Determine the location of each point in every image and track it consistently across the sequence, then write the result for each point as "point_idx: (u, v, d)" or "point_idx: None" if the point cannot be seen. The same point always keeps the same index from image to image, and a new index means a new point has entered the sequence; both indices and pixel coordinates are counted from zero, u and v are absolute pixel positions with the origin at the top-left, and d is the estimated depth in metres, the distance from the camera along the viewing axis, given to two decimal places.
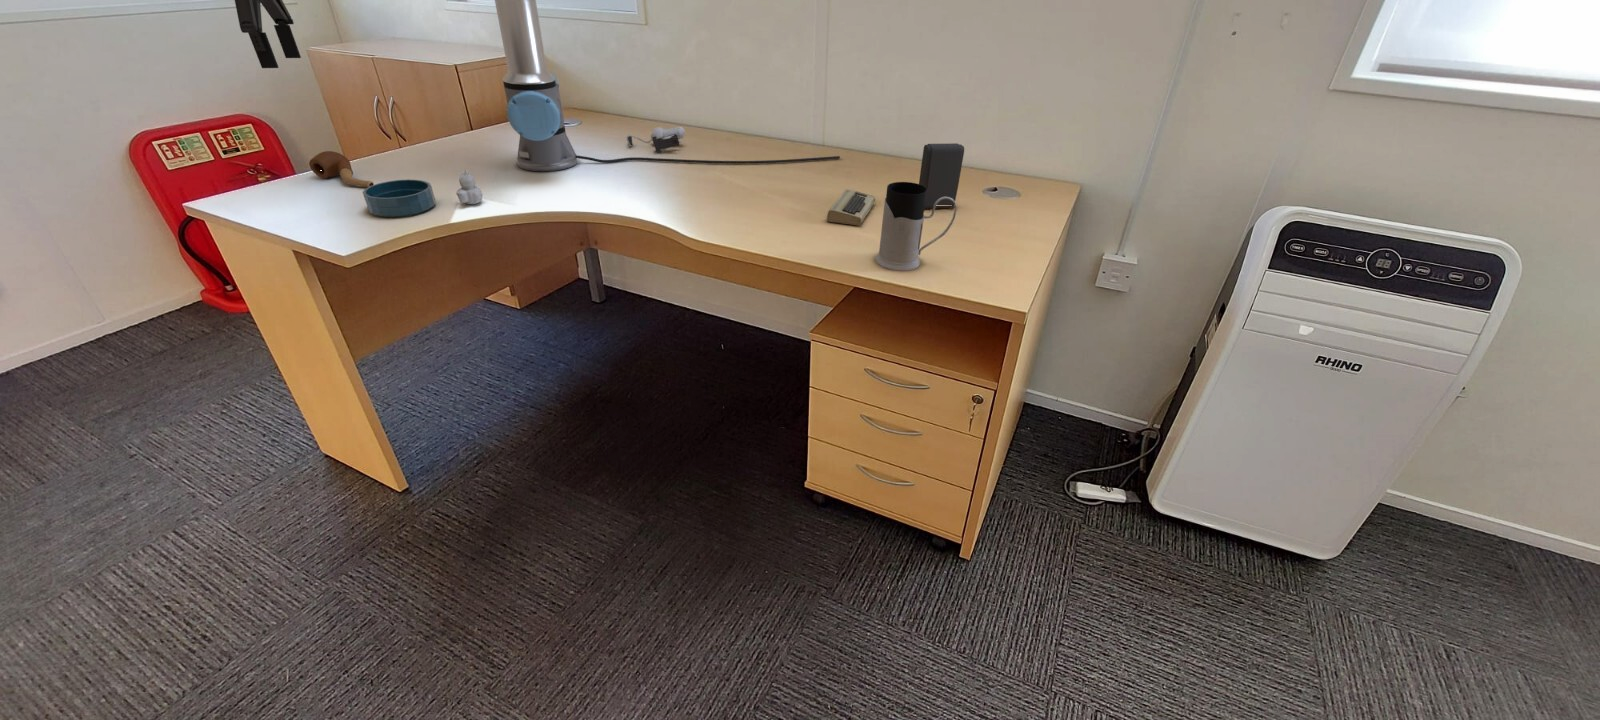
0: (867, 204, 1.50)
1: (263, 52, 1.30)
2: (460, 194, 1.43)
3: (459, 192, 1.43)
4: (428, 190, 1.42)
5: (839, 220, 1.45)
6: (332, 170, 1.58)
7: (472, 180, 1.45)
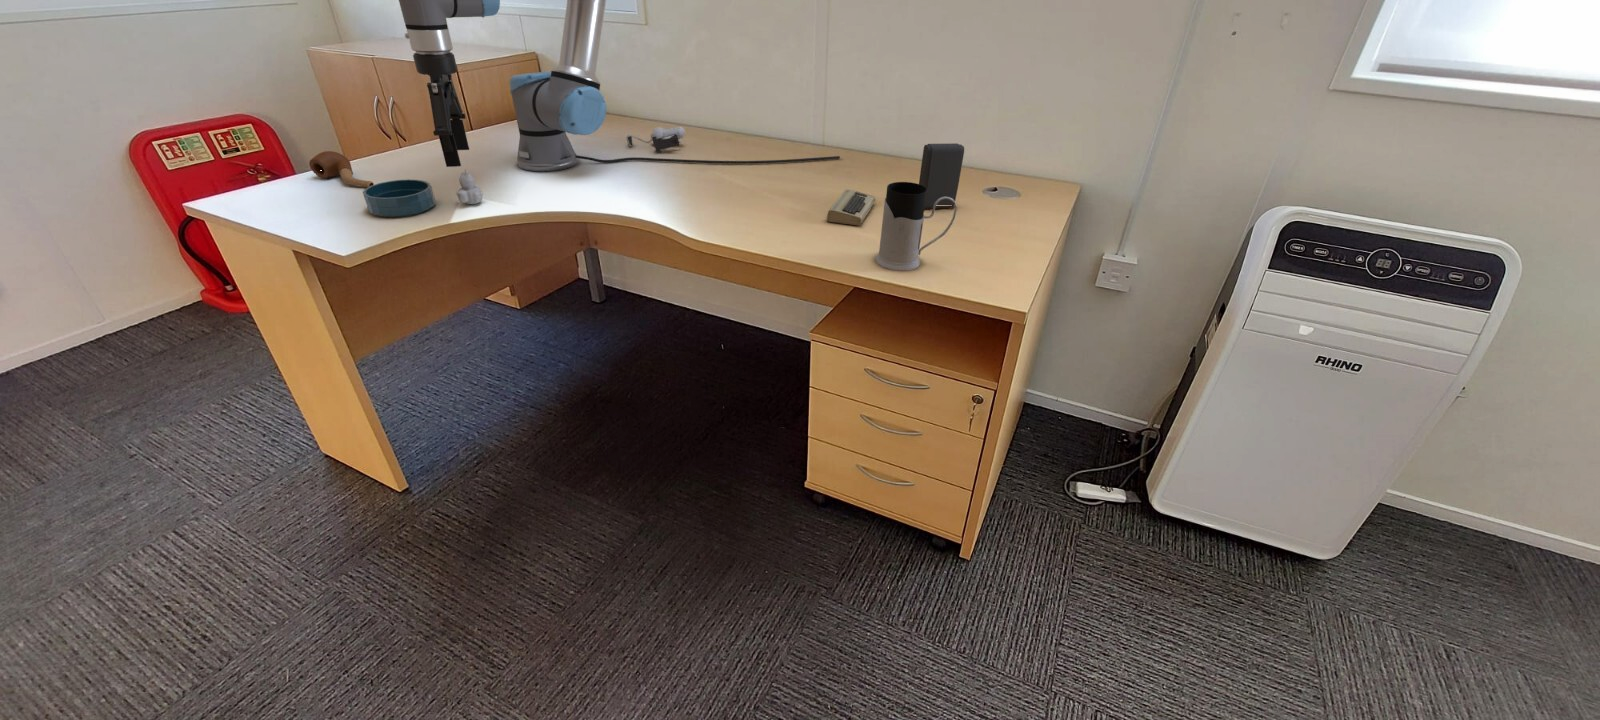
0: (867, 204, 1.50)
1: (449, 152, 1.34)
2: (460, 194, 1.43)
3: (459, 192, 1.43)
4: (428, 190, 1.42)
5: (839, 220, 1.45)
6: (332, 170, 1.58)
7: (472, 180, 1.45)
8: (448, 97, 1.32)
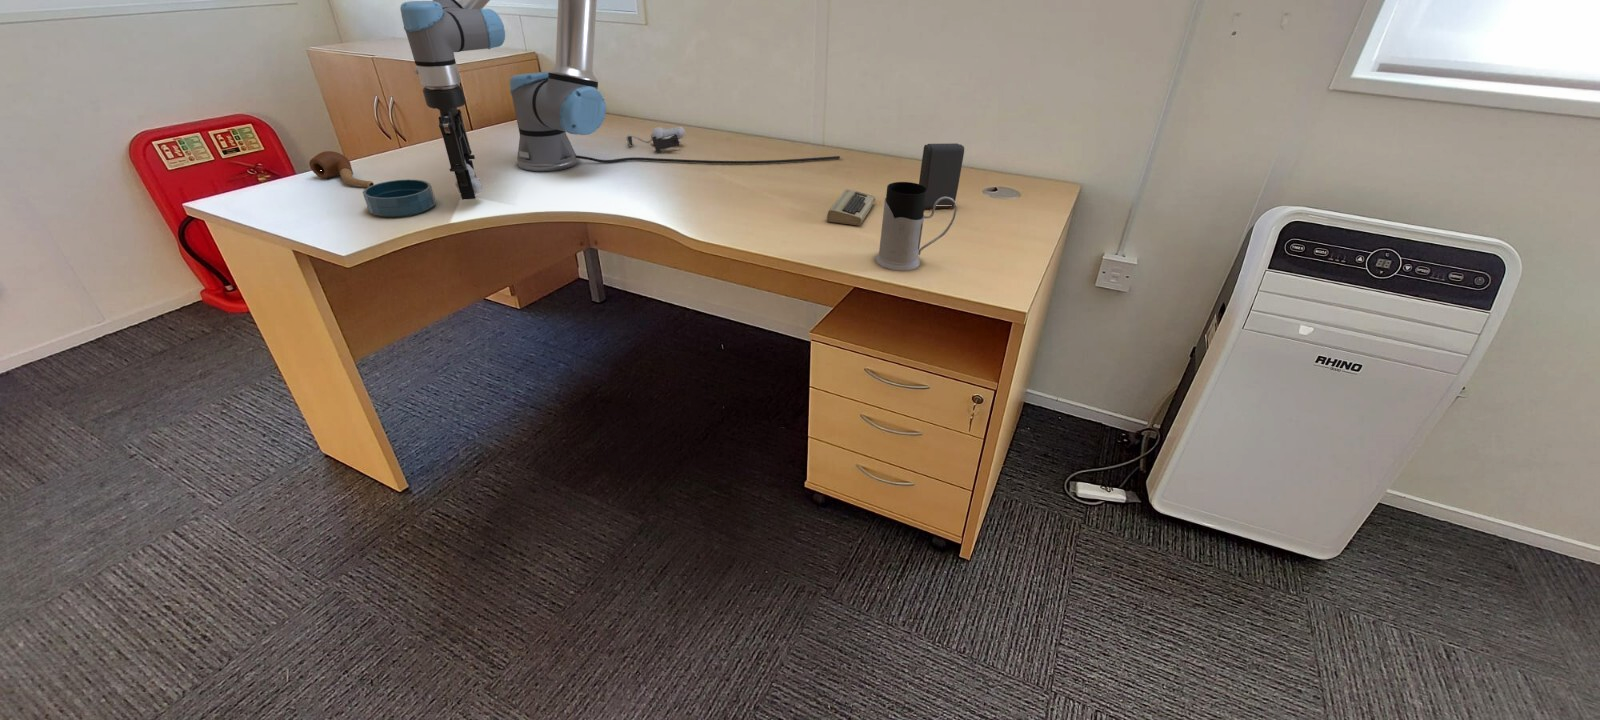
0: (867, 204, 1.50)
1: (465, 186, 1.42)
2: None
3: None
4: (428, 190, 1.42)
5: (839, 220, 1.45)
6: (332, 170, 1.58)
7: (471, 170, 1.44)
8: (459, 132, 1.37)
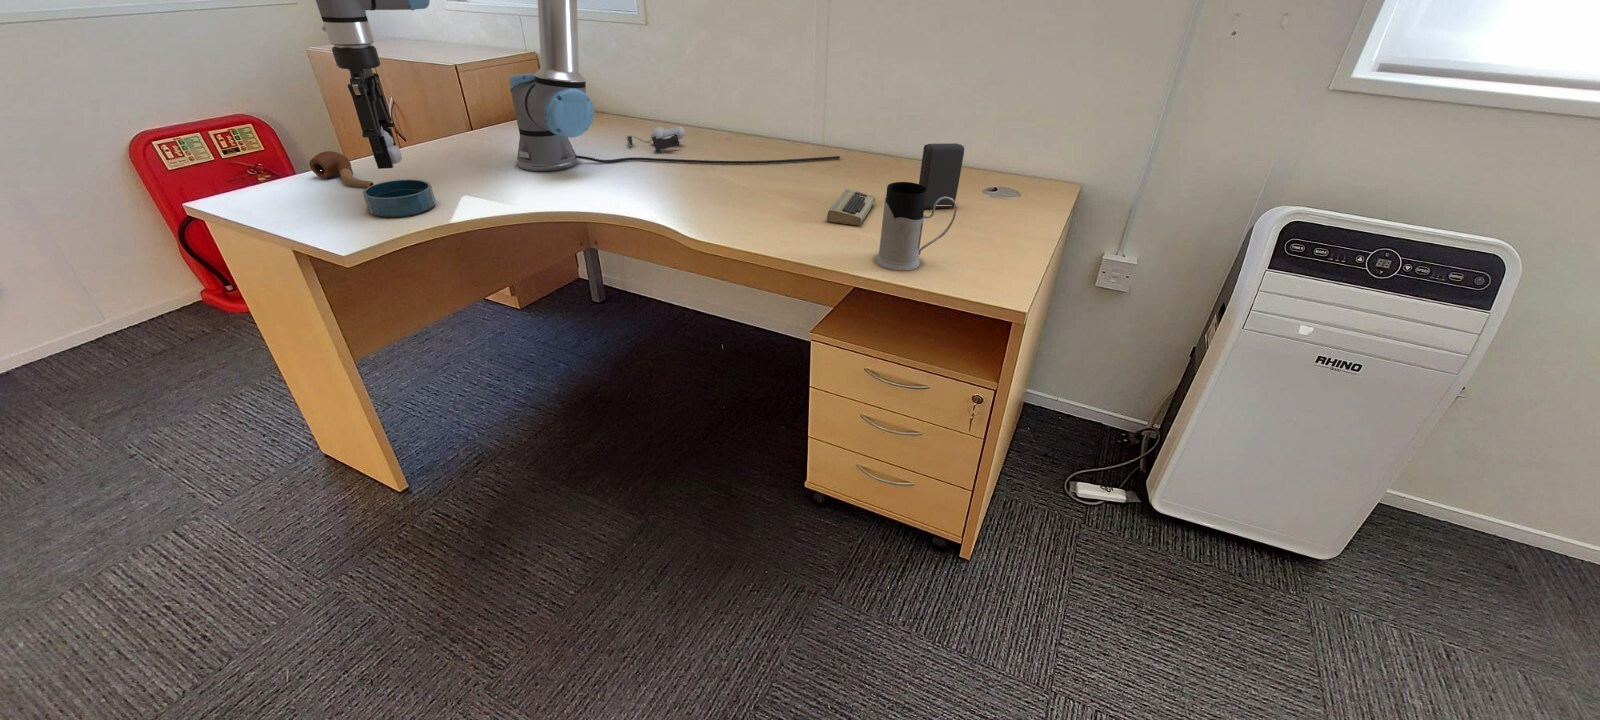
0: (867, 204, 1.50)
1: (380, 154, 1.34)
2: None
3: None
4: (428, 190, 1.42)
5: (839, 220, 1.45)
6: (332, 170, 1.58)
7: (389, 138, 1.36)
8: (373, 95, 1.29)
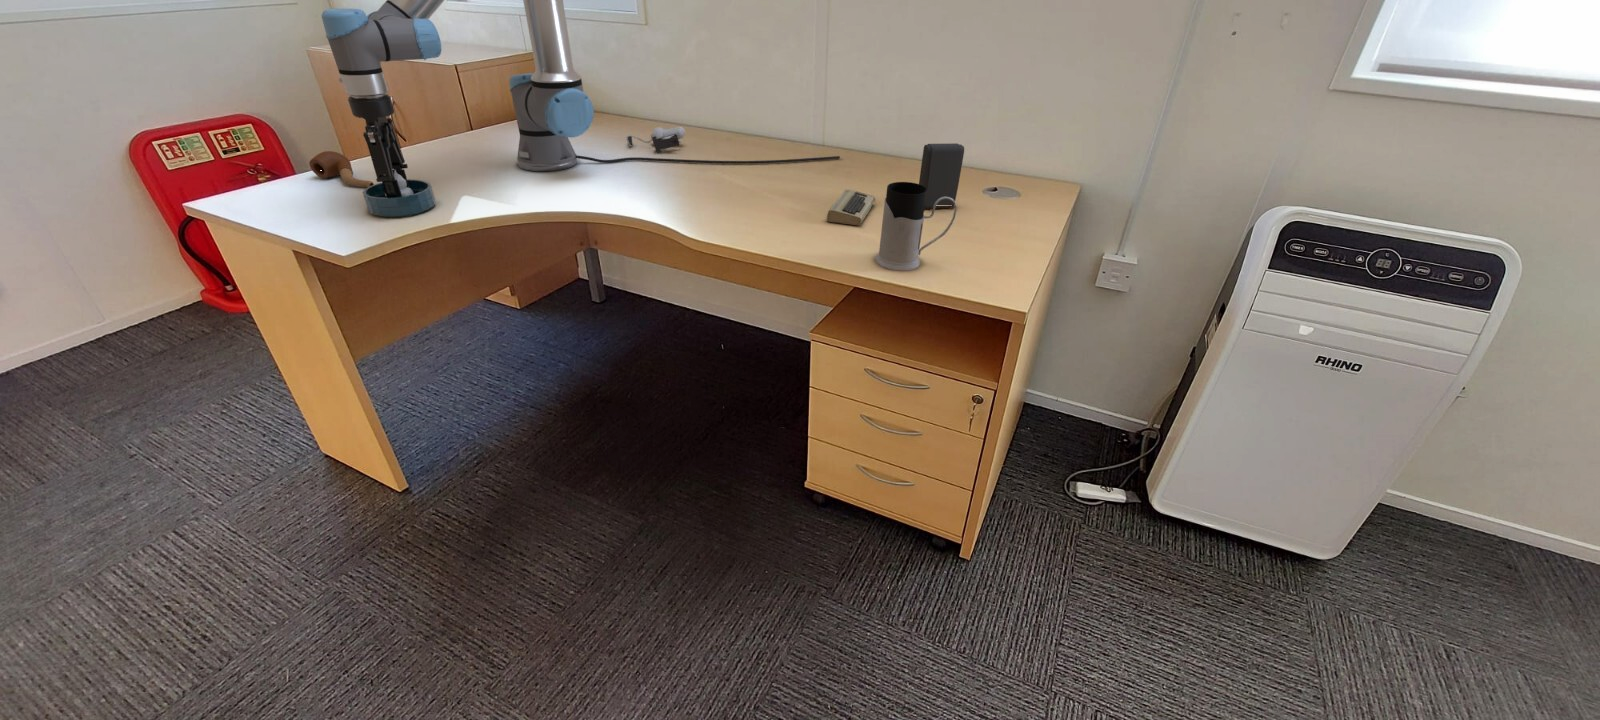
0: (867, 204, 1.50)
1: None
2: None
3: None
4: (428, 190, 1.42)
5: (839, 220, 1.45)
6: (332, 170, 1.58)
7: (402, 181, 1.41)
8: (387, 142, 1.34)
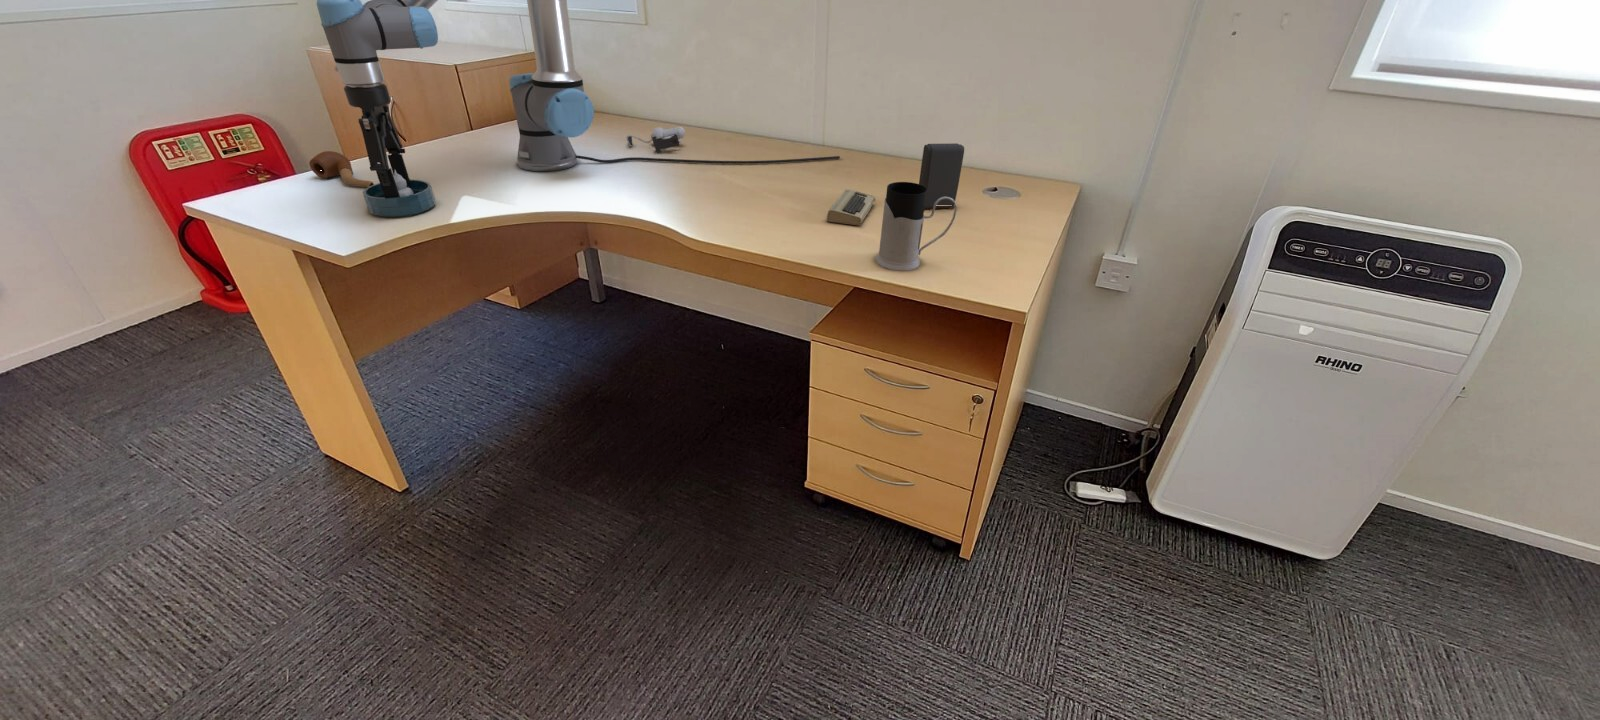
0: (867, 204, 1.50)
1: (388, 186, 1.36)
2: None
3: None
4: (428, 190, 1.42)
5: (839, 220, 1.45)
6: (332, 170, 1.58)
7: (402, 181, 1.41)
8: (382, 130, 1.32)
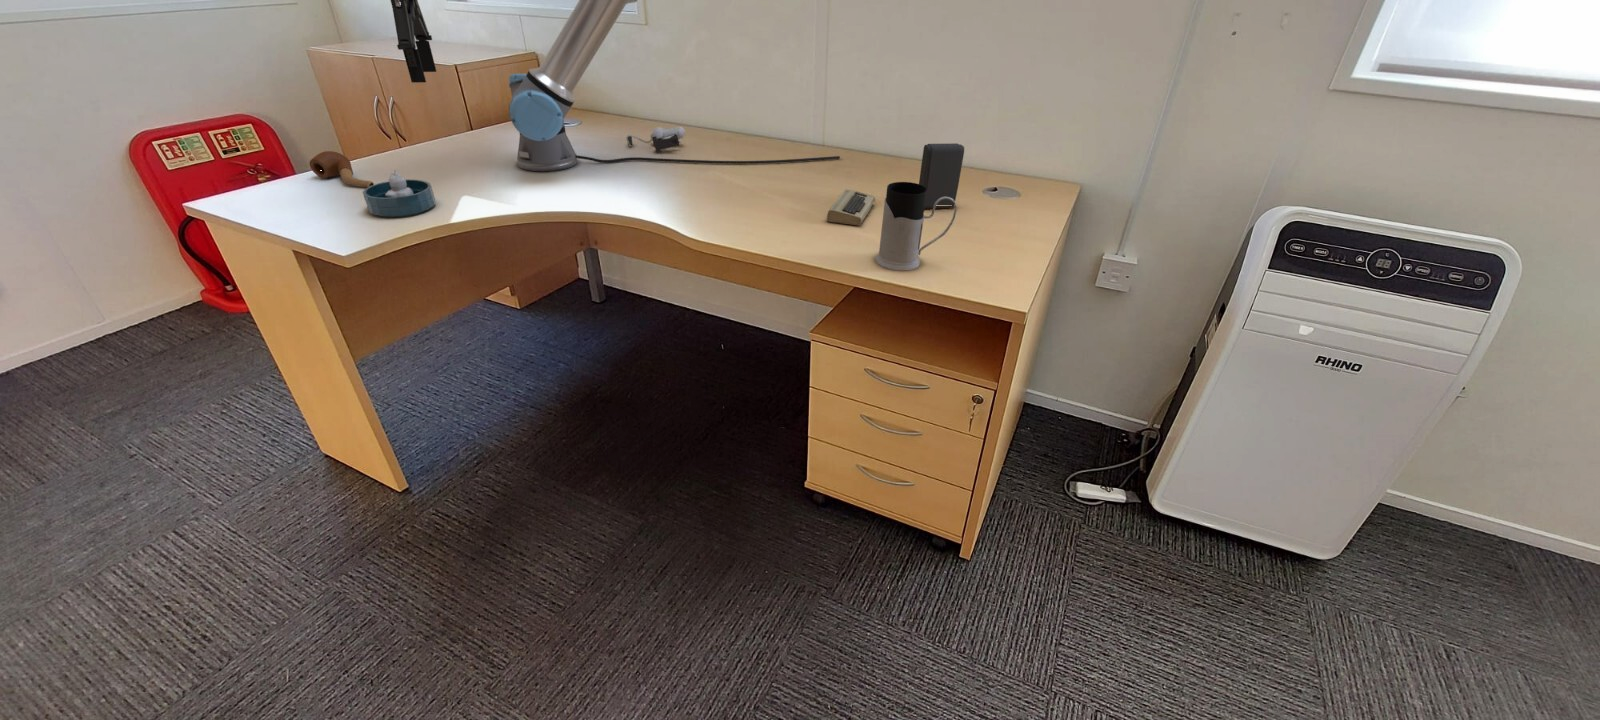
0: (867, 204, 1.50)
1: (414, 67, 1.38)
2: (389, 195, 1.39)
3: (388, 193, 1.39)
4: (428, 190, 1.42)
5: (839, 220, 1.45)
6: (332, 170, 1.58)
7: (402, 181, 1.41)
8: (412, 13, 1.36)
